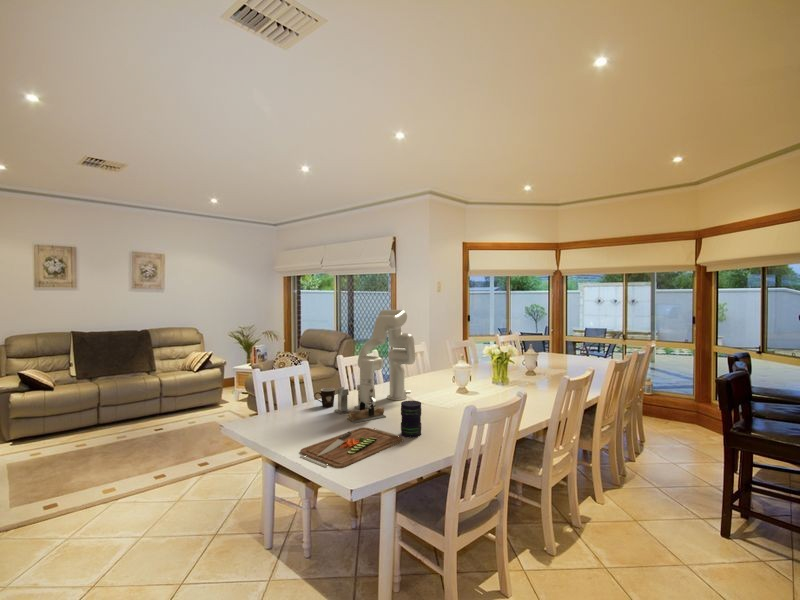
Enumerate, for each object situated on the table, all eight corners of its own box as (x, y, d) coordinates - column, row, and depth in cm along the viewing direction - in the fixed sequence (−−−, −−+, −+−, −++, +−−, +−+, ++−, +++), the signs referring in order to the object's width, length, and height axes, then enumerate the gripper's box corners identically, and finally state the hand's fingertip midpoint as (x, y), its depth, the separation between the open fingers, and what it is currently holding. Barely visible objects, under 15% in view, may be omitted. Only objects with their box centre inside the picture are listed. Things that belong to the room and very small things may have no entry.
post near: (345, 409, 237) (345, 386, 237) (351, 412, 232) (351, 388, 231) (334, 411, 233) (334, 388, 233) (339, 414, 228) (339, 390, 227)
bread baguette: (380, 412, 228) (380, 406, 228) (384, 414, 225) (384, 408, 225) (348, 419, 217) (348, 412, 217) (351, 421, 214) (351, 414, 214)
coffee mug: (336, 404, 248) (336, 388, 247) (333, 408, 239) (333, 391, 239) (318, 404, 249) (318, 387, 248) (313, 407, 240) (313, 391, 240)
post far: (365, 405, 245) (365, 383, 244) (370, 408, 239) (370, 386, 239) (354, 407, 241) (354, 385, 241) (360, 410, 235) (360, 387, 235)
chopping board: (335, 473, 154) (335, 465, 154) (292, 455, 171) (292, 448, 171) (408, 440, 189) (408, 433, 189) (366, 427, 206) (366, 421, 206)
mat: (377, 413, 230) (377, 412, 230) (386, 417, 222) (386, 416, 222) (347, 418, 219) (347, 417, 219) (355, 423, 212) (355, 422, 212)
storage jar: (397, 436, 193) (397, 404, 192) (404, 429, 202) (404, 399, 202) (417, 439, 189) (417, 406, 189) (424, 432, 198) (424, 401, 198)
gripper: (381, 383, 215) (381, 416, 216) (365, 378, 230) (365, 408, 230) (368, 385, 211) (368, 418, 211) (353, 379, 225) (353, 410, 226)
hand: (366, 413), depth 221 cm, fingers open, 9 cm apart
